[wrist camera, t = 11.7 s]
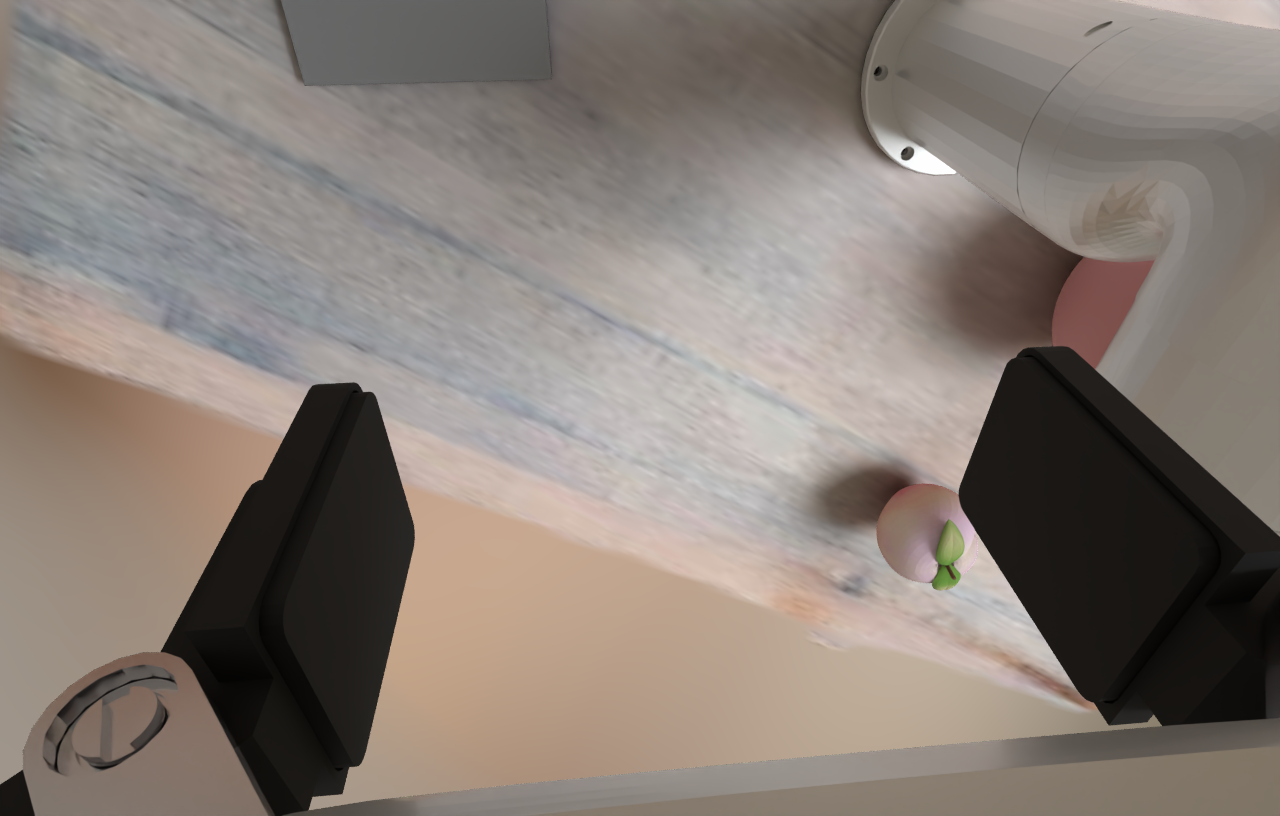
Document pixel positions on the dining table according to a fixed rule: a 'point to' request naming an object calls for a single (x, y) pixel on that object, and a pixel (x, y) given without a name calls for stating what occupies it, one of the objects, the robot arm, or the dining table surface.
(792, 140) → the dining table surface
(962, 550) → the decorative fruit
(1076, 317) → the balloon
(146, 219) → the dining table surface
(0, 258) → the dining table surface
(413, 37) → the mat
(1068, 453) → the robot arm
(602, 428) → the dining table surface
